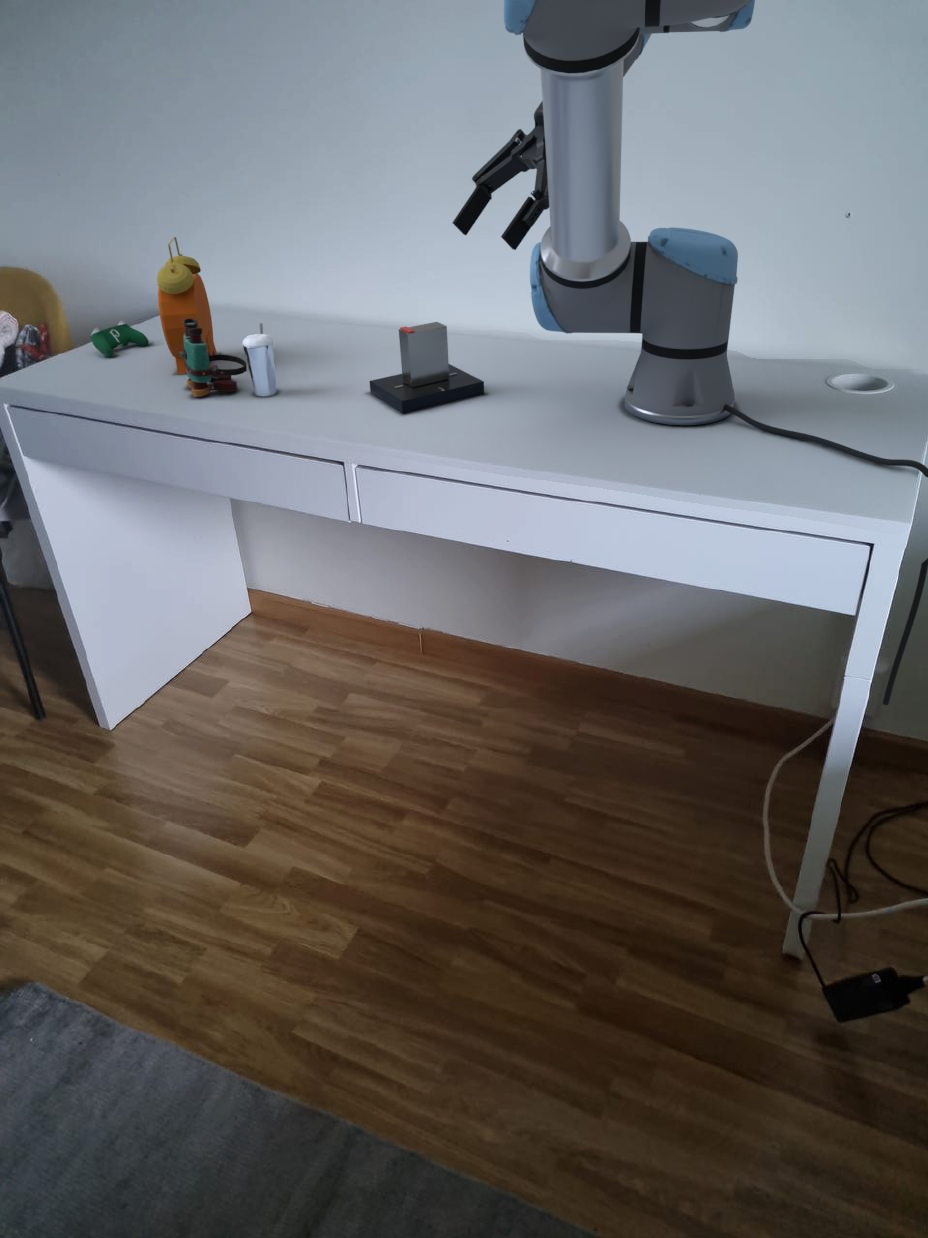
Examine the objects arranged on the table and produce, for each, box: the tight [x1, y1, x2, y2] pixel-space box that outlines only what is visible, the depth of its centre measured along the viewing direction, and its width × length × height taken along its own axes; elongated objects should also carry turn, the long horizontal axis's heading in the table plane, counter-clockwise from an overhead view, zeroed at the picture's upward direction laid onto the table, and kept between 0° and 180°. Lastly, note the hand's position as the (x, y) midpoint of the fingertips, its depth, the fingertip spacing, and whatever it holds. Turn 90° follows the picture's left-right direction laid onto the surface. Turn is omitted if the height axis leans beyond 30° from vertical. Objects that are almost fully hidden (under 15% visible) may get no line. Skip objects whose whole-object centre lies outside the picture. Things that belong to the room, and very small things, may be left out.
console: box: [369, 363, 485, 415], centre depth 136 cm, size 14×11×2 cm
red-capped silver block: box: [398, 321, 450, 388], centre depth 133 cm, size 6×3×8 cm, turn 120°
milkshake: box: [241, 322, 277, 398], centre depth 137 cm, size 4×5×10 cm
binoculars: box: [179, 318, 248, 398], centre depth 140 cm, size 9×11×10 cm
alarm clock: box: [156, 236, 218, 375], centre depth 148 cm, size 13×6×20 cm, turn 6°
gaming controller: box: [90, 319, 150, 358], centre depth 162 cm, size 9×4×6 cm
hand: (482, 236), depth 129 cm, fingers open, 13 cm apart
